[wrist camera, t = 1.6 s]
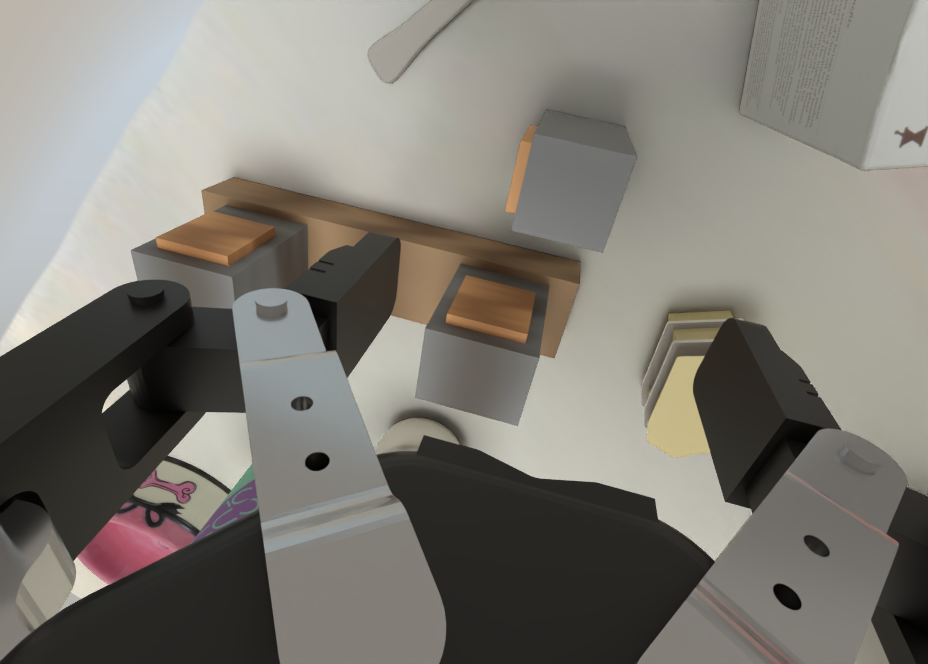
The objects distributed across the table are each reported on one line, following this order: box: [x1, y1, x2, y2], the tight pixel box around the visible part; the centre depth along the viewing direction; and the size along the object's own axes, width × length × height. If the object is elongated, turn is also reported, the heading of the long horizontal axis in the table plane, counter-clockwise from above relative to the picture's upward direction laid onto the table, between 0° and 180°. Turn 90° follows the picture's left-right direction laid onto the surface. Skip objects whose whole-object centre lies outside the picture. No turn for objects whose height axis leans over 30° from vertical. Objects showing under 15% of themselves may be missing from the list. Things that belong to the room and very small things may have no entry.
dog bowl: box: [77, 456, 231, 585], centre depth 50 cm, size 18×19×7 cm
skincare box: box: [739, 0, 928, 171], centre depth 16 cm, size 6×4×12 cm
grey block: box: [505, 110, 637, 253], centre depth 22 cm, size 4×4×7 cm
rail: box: [131, 177, 580, 426], centre depth 26 cm, size 22×5×10 cm, turn 81°
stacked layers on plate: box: [641, 311, 745, 457], centre depth 28 cm, size 10×9×6 cm
